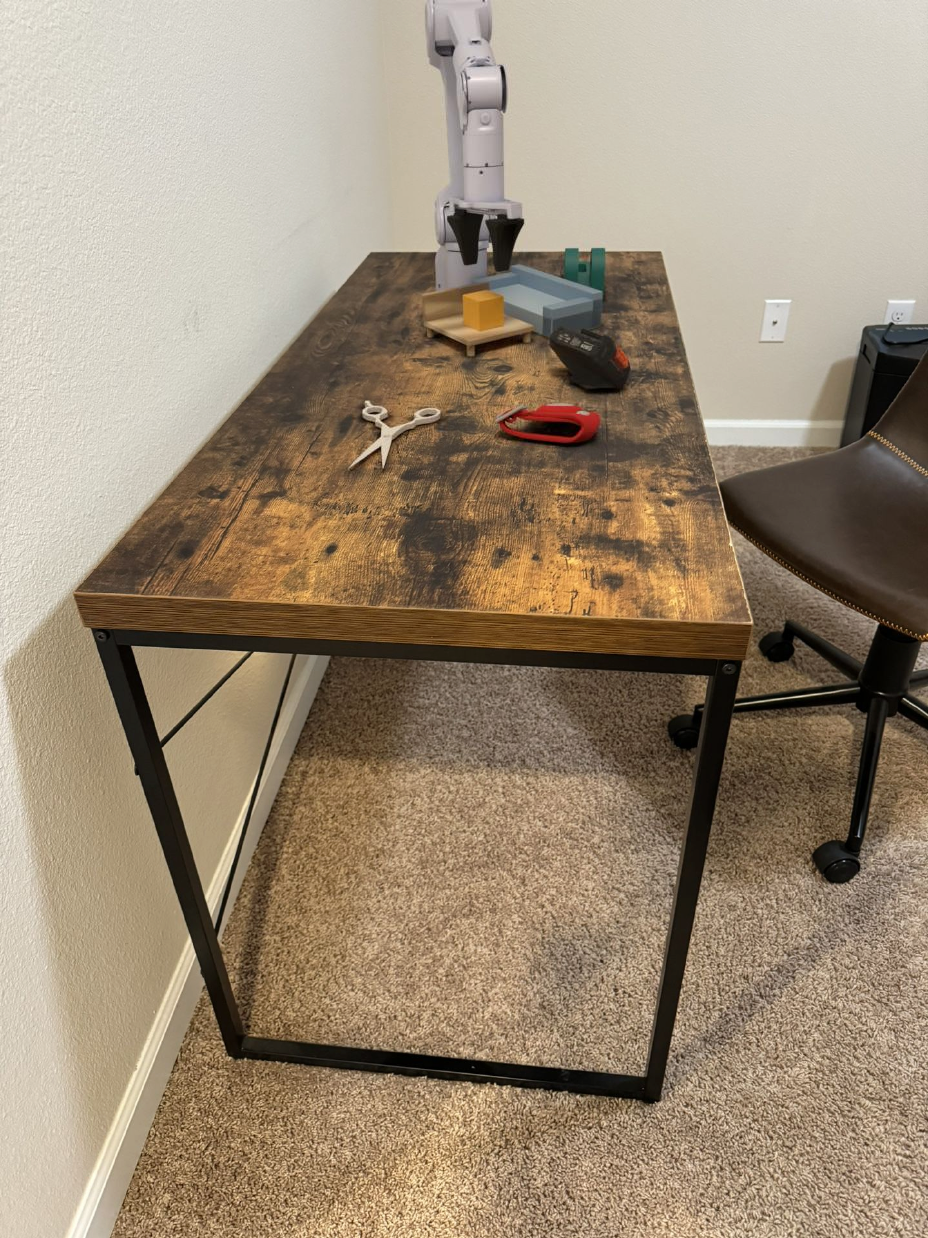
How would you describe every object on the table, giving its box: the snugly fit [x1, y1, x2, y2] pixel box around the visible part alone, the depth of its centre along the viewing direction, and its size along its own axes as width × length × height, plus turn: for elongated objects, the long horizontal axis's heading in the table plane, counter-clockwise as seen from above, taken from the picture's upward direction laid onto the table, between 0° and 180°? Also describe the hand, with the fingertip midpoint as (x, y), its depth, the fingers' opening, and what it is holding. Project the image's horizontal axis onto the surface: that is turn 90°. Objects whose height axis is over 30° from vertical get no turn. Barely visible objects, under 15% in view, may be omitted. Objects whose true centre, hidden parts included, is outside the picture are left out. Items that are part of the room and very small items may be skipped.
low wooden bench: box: [421, 281, 534, 358], centre depth 141 cm, size 13×12×6 cm
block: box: [463, 290, 504, 331], centre depth 139 cm, size 4×4×4 cm
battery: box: [548, 326, 632, 391], centre depth 124 cm, size 12×8×7 cm
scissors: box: [348, 400, 441, 469], centre depth 112 cm, size 11×1×20 cm
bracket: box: [562, 247, 606, 302], centre depth 163 cm, size 18×7×8 cm, turn 176°
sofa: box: [472, 263, 604, 339], centre depth 150 cm, size 22×10×6 cm, turn 33°
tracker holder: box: [494, 402, 601, 444], centre depth 111 cm, size 12×4×10 cm
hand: (485, 267), depth 136 cm, fingers open, 7 cm apart
